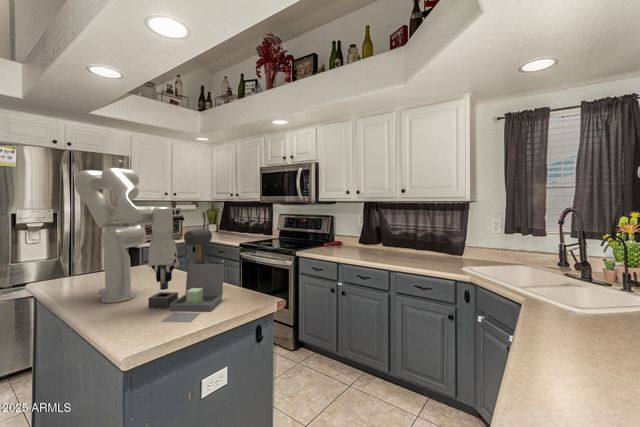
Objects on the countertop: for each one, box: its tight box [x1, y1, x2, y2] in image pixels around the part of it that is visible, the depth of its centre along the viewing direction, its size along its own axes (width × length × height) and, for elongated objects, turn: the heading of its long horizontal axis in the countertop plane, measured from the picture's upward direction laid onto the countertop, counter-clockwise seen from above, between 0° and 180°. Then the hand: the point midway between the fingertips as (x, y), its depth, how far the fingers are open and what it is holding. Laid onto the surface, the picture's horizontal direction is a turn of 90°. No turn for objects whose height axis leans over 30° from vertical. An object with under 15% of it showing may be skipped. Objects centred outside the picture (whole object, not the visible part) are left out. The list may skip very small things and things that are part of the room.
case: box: [169, 293, 223, 312], centre depth 126 cm, size 16×13×3 cm
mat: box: [160, 312, 202, 323], centre depth 113 cm, size 11×9×1 cm
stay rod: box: [159, 265, 169, 291], centre depth 126 cm, size 3×3×10 cm
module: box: [185, 288, 203, 304], centre depth 124 cm, size 4×5×7 cm
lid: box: [185, 263, 225, 296], centre depth 134 cm, size 16×13×1 cm
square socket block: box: [148, 291, 179, 309], centre depth 126 cm, size 8×8×4 cm
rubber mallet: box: [183, 228, 213, 264], centre depth 148 cm, size 12×8×30 cm, turn 159°
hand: (164, 280), depth 126 cm, fingers closed on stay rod, 3 cm apart
